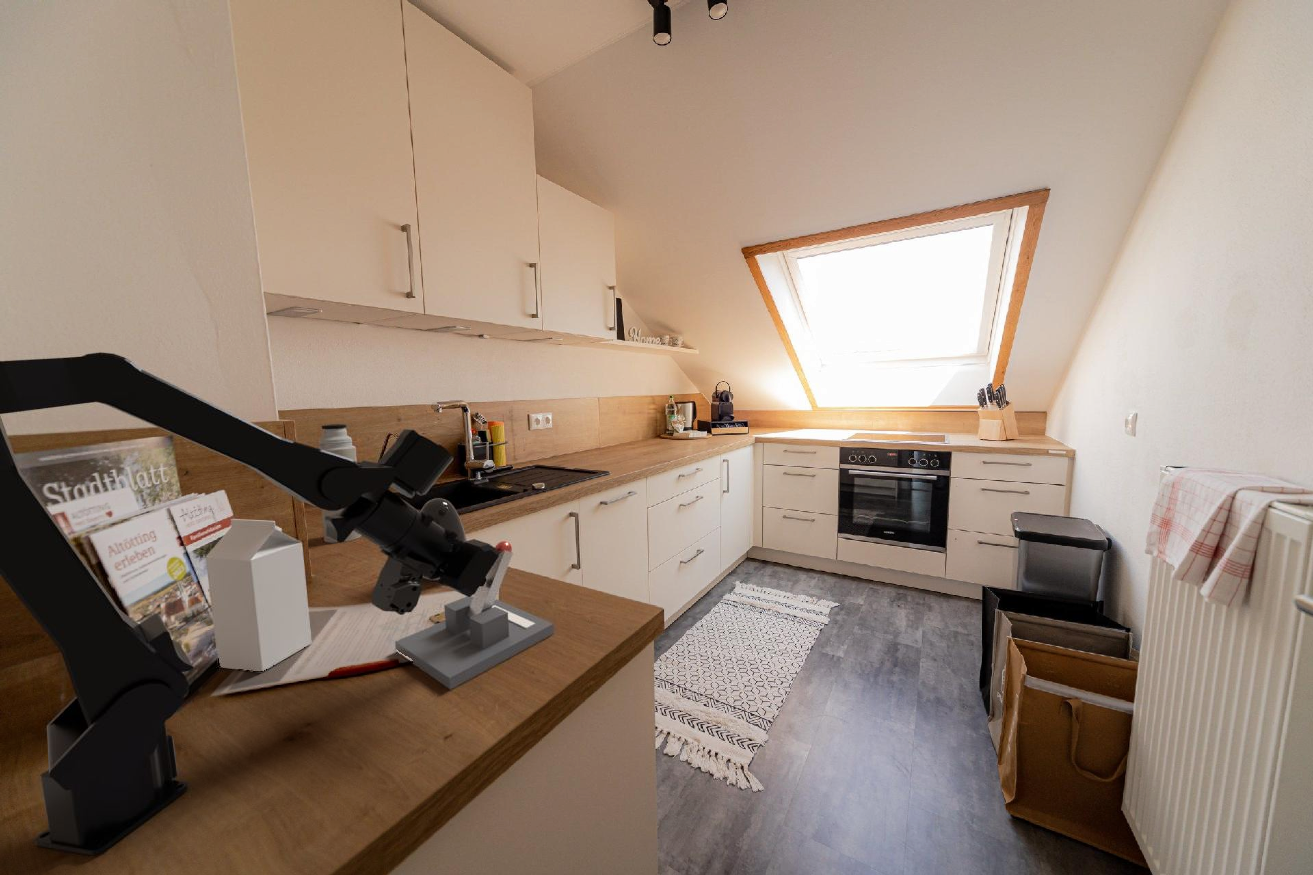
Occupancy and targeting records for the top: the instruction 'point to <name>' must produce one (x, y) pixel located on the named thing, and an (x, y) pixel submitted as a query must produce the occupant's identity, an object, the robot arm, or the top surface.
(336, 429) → the thermos bottle
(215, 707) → the top surface
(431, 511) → the grey egg shaped device
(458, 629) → the switch box
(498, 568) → the switch lever
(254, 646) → the milk carton
